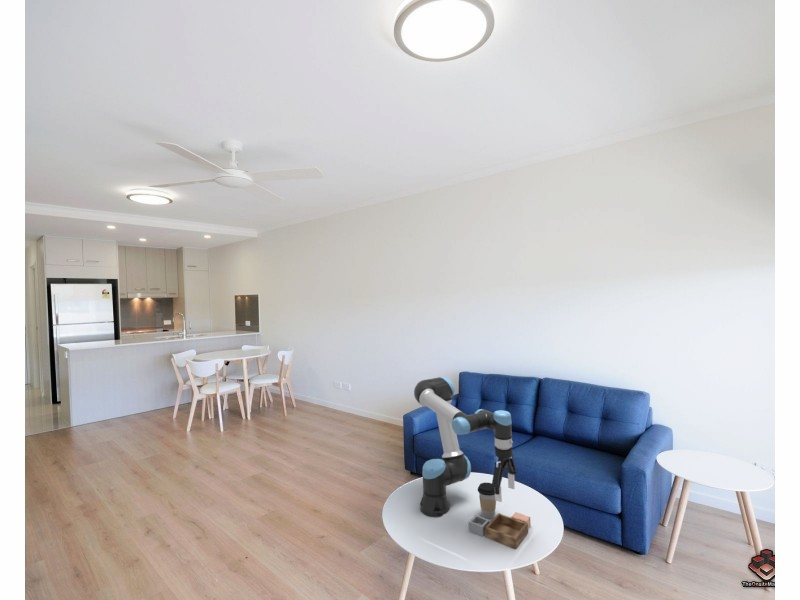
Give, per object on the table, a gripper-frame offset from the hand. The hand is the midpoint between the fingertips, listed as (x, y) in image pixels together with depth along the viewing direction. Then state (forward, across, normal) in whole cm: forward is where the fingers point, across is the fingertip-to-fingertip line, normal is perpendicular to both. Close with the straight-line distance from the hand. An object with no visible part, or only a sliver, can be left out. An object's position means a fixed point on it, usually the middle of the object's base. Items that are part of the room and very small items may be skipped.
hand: (505, 494), depth 171 cm
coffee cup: (+19, +9, +14) cm, 25 cm away
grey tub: (+19, -4, +12) cm, 23 cm away
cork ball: (+18, -4, +12) cm, 22 cm away
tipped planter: (+19, +10, -2) cm, 22 cm away
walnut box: (+19, 0, 0) cm, 19 cm away
